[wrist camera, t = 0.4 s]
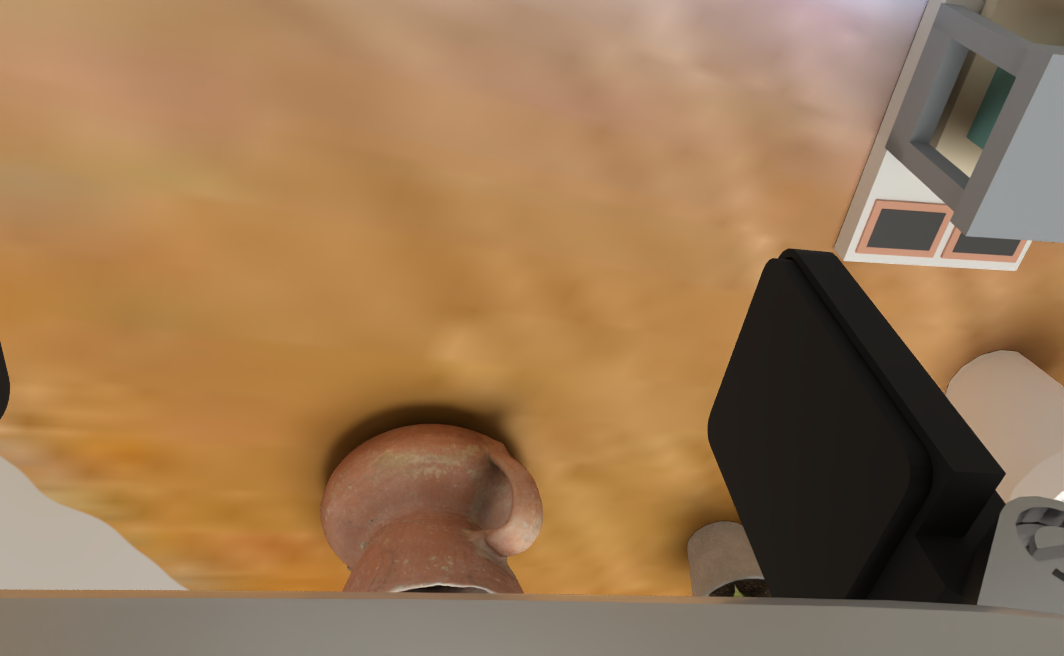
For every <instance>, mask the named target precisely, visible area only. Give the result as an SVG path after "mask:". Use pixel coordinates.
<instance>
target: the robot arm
mask: <svg viewBox="0 0 1064 656" xmlns="http://www.w3.org/2000/svg"><path fill="white" fill-rule="evenodd" d="M9 394H10V382H9V376H8V372H7V368H6V364H5V360H4V355H3V351H2V347H1V343H0V419H1V417H2V416H3V414H4V412H5V410H6V408H7V404H8V401H9ZM708 439H709V443H710V446H711V448H712V451H713V453H714V456H715V458H716V461H717V463H718V466H719V468H720V471H721V473H722V476H723V478H724V481H725V483H726V485H727V488H728V490H729V493H730V495H731V498H732V500H733V503H734V505H735V508H736V510H737V513H738V515H739V518H740V520H741V523H742V525H743V528H744V530H745V533H746V535H747V537H748V540H749V542H750V545H751V547H752V550H753V552H754V555H755V557H756V560H757V562H758V565H759V567H760V570H761V572H762V575H763V577H764V580H765V582H766V585H767V587H768V589H769V592H770V594H771V597H772V598H767V597H704V596H641V595H579V594H501V593H413V592H310V591H180V590H177V591H176V590H175V591H174V590H164V591H163V590H162V591H161V590H0V656H1064V502H1062V501H1059V500H1054V499H1049V498H1044V497H1039V496H1027V497H1018V498H1016V499H1014V500H1011V501H1009V502H1007V503H1005V502H1004V501H1003V499H1002V498H1001V497H1000V495H999V494H998V493H997V491H996V488H997V487H998V485H999V484H1000V482H1001V481H1002V479H1003V478H1004V476H1005V475H1006V473H1005V471H1004V470H1003V469H1002V468H1001V466H1000V465H999V464H998V462H997V461H996V460H995V459H994V457H993V456H992V455H991V453H990V452H989V451H988V450H987V448H986V447H985V446H984V445H983V443H982V442H981V441H980V439H979V438H978V437H977V436H976V434H975V433H974V432H973V430H972V429H971V428H970V427H969V425H968V424H967V423H966V421H965V420H964V419H963V418H962V416H961V415H960V414H959V413H958V411H957V410H956V409H955V407H954V406H953V405H952V404H951V402H950V401H949V400H948V398H947V397H946V396H945V395H944V393H943V392H942V391H941V389H940V388H939V387H938V386H937V384H936V383H935V382H934V380H933V379H932V378H931V377H930V375H929V374H928V373H927V372H926V370H925V369H924V368H923V366H922V365H921V364H920V363H919V361H918V360H917V359H916V357H915V356H914V355H913V354H912V352H911V351H910V350H909V348H908V347H907V346H906V345H905V343H904V342H903V341H902V340H901V338H900V337H899V336H898V334H897V333H896V332H895V331H894V329H893V328H892V327H891V325H890V324H889V323H888V322H887V320H886V319H885V318H884V316H883V315H882V314H881V313H880V311H879V310H878V309H877V308H876V306H875V305H874V304H873V302H872V301H871V300H870V299H869V297H868V296H867V295H866V293H865V292H864V291H863V290H862V288H861V287H860V286H859V284H858V283H857V282H856V281H855V279H854V278H853V277H852V276H851V274H850V273H849V272H848V270H847V269H846V268H845V267H844V265H843V264H842V263H841V261H840V260H839V259H838V258H837V256H835V255H834V254H833V253H831V252H822V251H811V250H800V249H787V250H785V251H783V252H782V254H781V255H780V256H779V258H778V259H776V258H772V259H770V260H769V261H768V262H767V263H766V265H765V267H764V269H763V272H762V274H761V277H760V280H759V282H758V285H757V288H756V291H755V293H754V296H753V299H752V301H751V304H750V307H749V310H748V312H747V315H746V318H745V320H744V323H743V326H742V329H741V331H740V334H739V337H738V340H737V342H736V345H735V348H734V350H733V353H732V356H731V359H730V361H729V364H728V367H727V369H726V372H725V375H724V378H723V380H722V383H721V386H720V388H719V391H718V394H717V397H716V399H715V402H714V405H713V407H712V410H711V413H710V416H709V420H708Z"/></svg>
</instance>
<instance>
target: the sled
mask: <svg viewBox="0 0 1064 656" xmlns="http://www.w3.org/2000/svg"><path fill="white" fill-rule="evenodd" d="M980 15H981V16H983V17H985V18H987V19H989V20H991V21H993V22H995V23H997V24H998V25H1000V26H1002V27H1004V28H1006V29H1008V30H1010V31H1012V32H1014V33H1015V34H1017V35H1019V36H1021V37H1023V38H1025V39H1027V40H1029V41H1030V42H1032V43H1037V44H1046V45H1055V46H1064V0H986V3H985V5H984V7H983V10H982V12H981V14H980ZM1015 79H1016V77H1015V76H1013V75H1012V74H1010V73H1008V72H1007V71H1005V70H1003V69H1002V68H1000V67H998V66H997V65H995V64H993V63H992V62H990V61H988V60H987V59H985V58H983V57H982V56H980V55H978V54H977V53H975V52H973V51H972V50H970V49H969V51H968V53H967V56H966V58H965V61H964V63H963V65H962V68H961V70H960V72H959V75H958V77H957V79H956V82H955V84H954V87H953V89H952V91H951V94H950V96H949V98H948V101H947V103H946V105H945V108H944V110H943V113H942V115H941V117H940V120H939V122H938V124H937V127H936V129H935V131H934V134H933V136H932V139H931V141H930V143H929V144H930V145H931V146H932V147H934V148H935V149H936V150H937V151H938V152H940V153H941V154H942V155H943V156H944V157H946V158H947V159H948V160H949V161H950V162H952V163H953V164H954V165H955V166H956V167H958V168H959V169H960V170H961V171H962V172H963V173H965V174H966V175H967V176H968V177H969V178H970V177H971V174H972V172H973V170H974V168H975V166H976V164H977V161H978V159H979V157H980V155H981V153H982V151H983V148H984V146H985V144H986V142H987V140H988V138H989V136H990V133H991V131H992V129H993V127H994V125H995V123H996V120H997V118H998V116H999V114H1000V112H1001V110H1002V107H1003V105H1004V103H1005V101H1006V99H1007V97H1008V94H1009V92H1010V90H1011V88H1012V86H1013V84H1014V82H1015Z"/></svg>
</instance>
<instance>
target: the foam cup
mask: <svg viewBox="0 0 1064 656" xmlns="http://www.w3.org/2000/svg"><path fill="white" fill-rule="evenodd" d="M945 396H946V397H947V398H948V400H949V401H950V402H951V404H952V405H953V406H954V407H955V409H956V410H957V411H958V413H959V414H960V415H961V416H962V418H963V419H964V420H965V421H966V423H967V424H968V425H969V427H970V428H971V429H972V430H973V432H974V433H975V434H976V436H977V437H978V438H979V439H980V441H981V442H982V443H983V445H984V446H985V447H986V448H987V450H988V451H989V452H990V453H991V455H992V456H993V457H994V459H995V460H996V461H997V462H998V464H999V465H1000V466H1001V468H1002V469H1003V470H1004V471H1005V473H1006V475H1005V476H1004V478H1003V479H1002V481H1001V482H1000V484H999V485H998V487H997V488H996V491H997V493H998V494H999V495H1000V497H1001V498H1002V499H1003V501H1004V502H1005V503H1007V502H1009V501H1011V500H1014V499H1016V498H1018V497H1027V496H1039V497H1044V498H1049V499H1054V500H1059V501H1062V502H1064V387H1063V386H1062V385H1061V384H1060V383H1058V382H1057V381H1056V380H1054V379H1053V378H1052V377H1050V376H1049V375H1048V374H1047V373H1045V372H1044V371H1043V370H1041V369H1040V368H1039V367H1037V366H1036V365H1035V364H1034V363H1032V362H1031V361H1029V360H1028V359H1027V358H1025V357H1024V356H1023V355H1021V354H1020V353H1019V352H1016V351H1005V350H999V351H995V352H991V353H988V354H984V355H980V356H979V357H977V358H976V359H974V360H972V361H971V362H969V363H967V364H966V365H964V366H963V367H962V368H961V369H960V370H959V371H958V372H957V374H956V375H955V376H954V377H953V378H952V379H951V380H950V382H949V386H948V389H947V392H946V395H945Z"/></svg>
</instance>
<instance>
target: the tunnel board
mask: <svg viewBox="0 0 1064 656" xmlns="http://www.w3.org/2000/svg"><path fill="white" fill-rule="evenodd" d="M985 3H986V0H929V1H928V4H927V6H926V9H925V12H924V14H923V17H922V20H921V22H920V25H919V27H918V30H917V33H916V35H915V38H914V40H913V43H912V46H911V48H910V51H909V53H908V56H907V59H906V61H905V64H904V67H903V69H902V72H901V74H900V77H899V80H898V82H897V85H896V87H895V90H894V93H893V95H892V98H891V101H890V103H889V106H888V108H887V111H886V114H885V116H884V119H883V121H882V124H881V127H880V129H879V132H878V134H877V137H876V140H875V142H874V145H873V148H872V150H871V153H870V155H869V158H868V161H867V163H866V166H865V168H864V171H863V174H862V176H861V179H860V181H859V184H858V187H857V189H856V192H855V195H854V197H853V200H852V202H851V205H850V208H849V210H848V213H847V215H846V218H845V221H844V223H843V226H842V228H841V231H840V234H839V236H838V239H837V242H836V244H835V247H834V249H835V251H836V252H837V253H838V255H839V256H840V257H841V258H842V260H843V261H855V262H872V263H889V264H906V265H923V266H940V267H957V268H974V269H991V270H1008V271H1016V270H1017V268H1018V266H1019V264H1020V262H1021V261H1022V259H1023V257H1024V255H1025V253H1026V251H1027V249H1028V247H1029V246H1030V244H1031V242H1032V241H1047V242H1062V243H1064V46H1055V45H1046V44H1037V43H1032V42H1030V41H1029V40H1027V39H1025V38H1023V37H1021V36H1019V35H1017V34H1015V33H1014V32H1012V31H1010V30H1008V29H1006V28H1004V27H1002V26H1000V25H998V24H997V23H995V22H993V21H991V20H989V19H987V18H985V17H983V16H981V15H980V14H981V12H982V10H983V7H984V5H985ZM969 49H970V50H972V51H973V52H975V53H977V54H978V55H980V56H982V57H983V58H985V59H987V60H988V61H990V62H992V63H993V64H995V65H997V66H998V67H1000V68H1002V69H1003V70H1005V71H1007V72H1008V73H1010V74H1012V75H1013V76H1015V77H1016V79H1015V82H1014V84H1013V86H1012V88H1011V90H1010V92H1009V94H1008V97H1007V99H1006V101H1005V103H1004V105H1003V107H1002V110H1001V112H1000V114H999V116H998V118H997V120H996V123H995V125H994V127H993V129H992V131H991V133H990V136H989V138H988V140H987V142H986V144H985V146H984V148H983V151H982V153H981V155H980V157H979V159H978V161H977V164H976V166H975V168H974V170H973V172H972V174H971V177H970V178H969V177H968V176H967V175H966V174H965V173H963V172H962V171H961V170H960V169H959V168H958V167H956V166H955V165H954V164H953V163H952V162H950V161H949V160H948V159H947V158H946V157H944V156H943V155H942V154H941V153H940V152H938V151H937V150H936V149H935V148H934V147H932V146H931V145H930V144H929V143H930V141H931V139H932V136H933V134H934V131H935V129H936V127H937V124H938V122H939V120H940V117H941V115H942V113H943V110H944V108H945V105H946V103H947V101H948V98H949V96H950V94H951V91H952V89H953V87H954V84H955V82H956V79H957V77H958V75H959V72H960V70H961V68H962V65H963V63H964V61H965V58H966V56H967V53H968V51H969Z"/></svg>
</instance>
